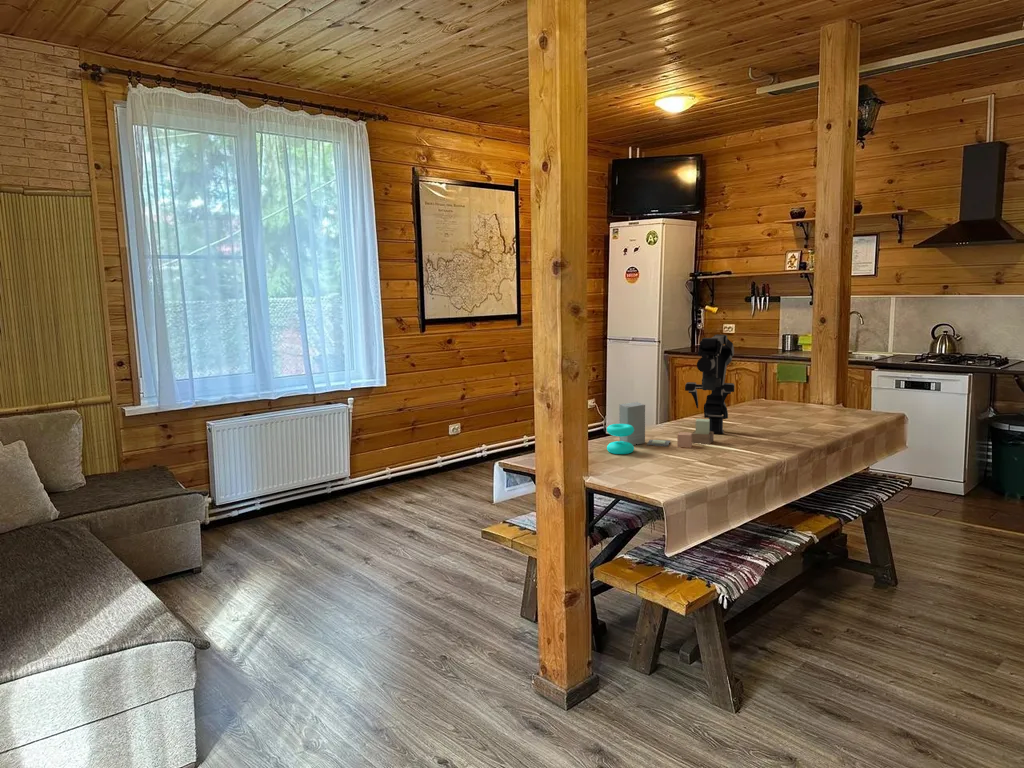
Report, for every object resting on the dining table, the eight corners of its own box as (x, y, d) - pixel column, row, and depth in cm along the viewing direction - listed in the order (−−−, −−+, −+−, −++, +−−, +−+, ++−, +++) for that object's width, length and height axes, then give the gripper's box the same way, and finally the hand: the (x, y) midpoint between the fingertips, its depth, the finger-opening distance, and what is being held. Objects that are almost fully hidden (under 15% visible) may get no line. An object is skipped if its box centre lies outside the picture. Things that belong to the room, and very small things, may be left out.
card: (649, 441, 280) (649, 439, 280) (670, 442, 277) (670, 440, 277) (646, 445, 272) (646, 443, 272) (668, 446, 270) (668, 444, 270)
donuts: (602, 426, 260) (613, 422, 268) (602, 453, 261) (613, 448, 269) (628, 429, 255) (638, 424, 263) (628, 456, 256) (637, 450, 264)
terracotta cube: (678, 444, 273) (678, 432, 272) (691, 445, 271) (692, 432, 271) (677, 447, 268) (677, 434, 268) (690, 448, 267) (691, 435, 266)
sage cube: (696, 431, 279) (696, 418, 278) (709, 431, 277) (709, 419, 277) (695, 433, 274) (695, 421, 274) (708, 434, 273) (709, 421, 272)
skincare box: (636, 440, 281) (636, 401, 279) (646, 444, 274) (646, 404, 272) (618, 443, 278) (618, 403, 276) (627, 446, 271) (627, 405, 269)
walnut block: (695, 440, 281) (695, 430, 281) (713, 441, 278) (713, 431, 277) (690, 443, 275) (690, 433, 275) (708, 445, 272) (709, 435, 271)
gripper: (684, 371, 275) (683, 411, 277) (734, 372, 269) (733, 412, 271) (686, 368, 285) (686, 406, 287) (734, 369, 279) (734, 408, 282)
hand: (709, 408), depth 282 cm, fingers open, 9 cm apart
